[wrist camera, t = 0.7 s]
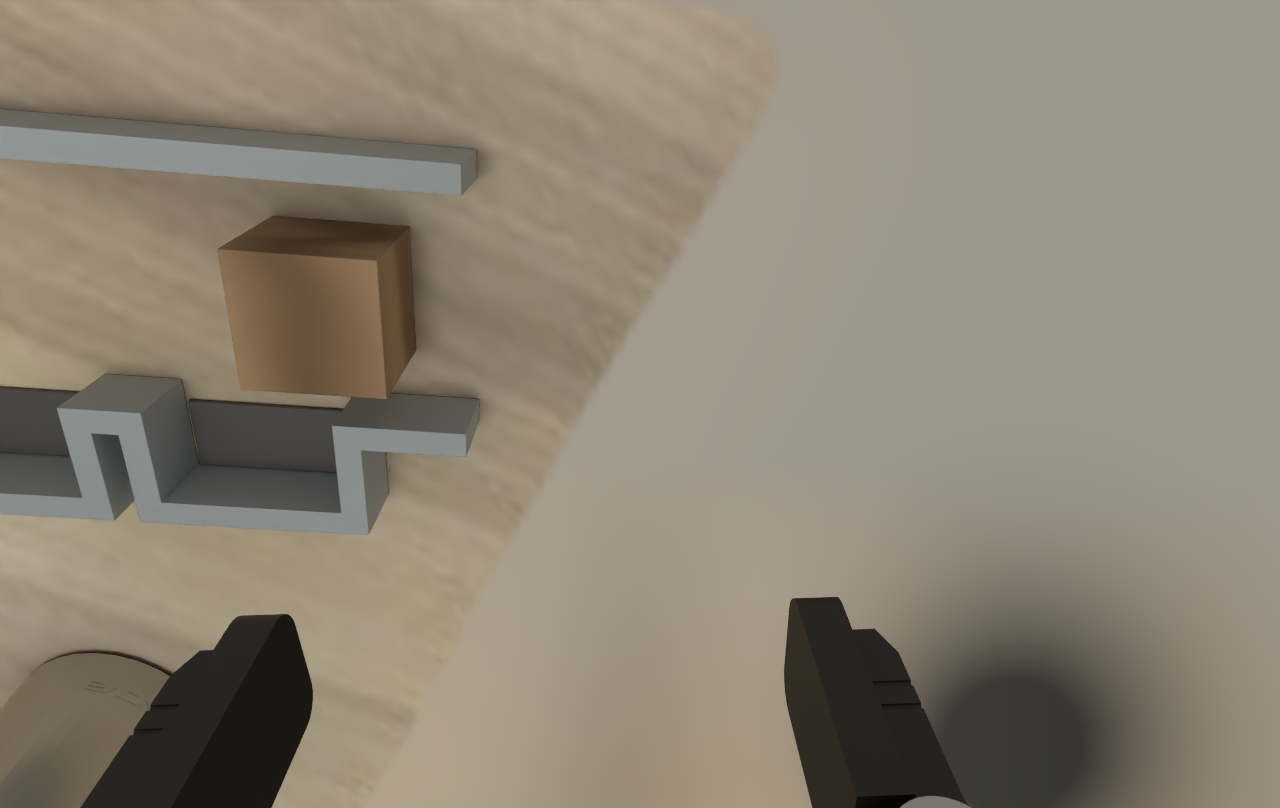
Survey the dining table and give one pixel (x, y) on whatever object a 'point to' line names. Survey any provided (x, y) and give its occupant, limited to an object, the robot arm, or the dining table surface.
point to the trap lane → (224, 431)
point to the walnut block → (320, 306)
